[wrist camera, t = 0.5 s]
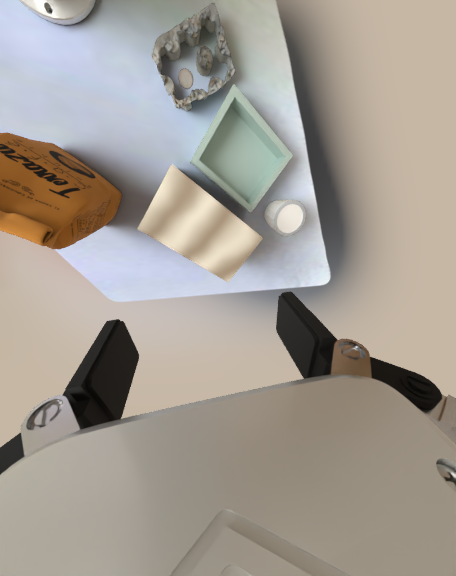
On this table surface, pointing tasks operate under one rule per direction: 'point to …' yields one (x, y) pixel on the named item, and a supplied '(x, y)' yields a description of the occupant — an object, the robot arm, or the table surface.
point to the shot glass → (285, 216)
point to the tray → (241, 152)
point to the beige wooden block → (198, 226)
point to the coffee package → (51, 194)
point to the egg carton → (191, 35)
